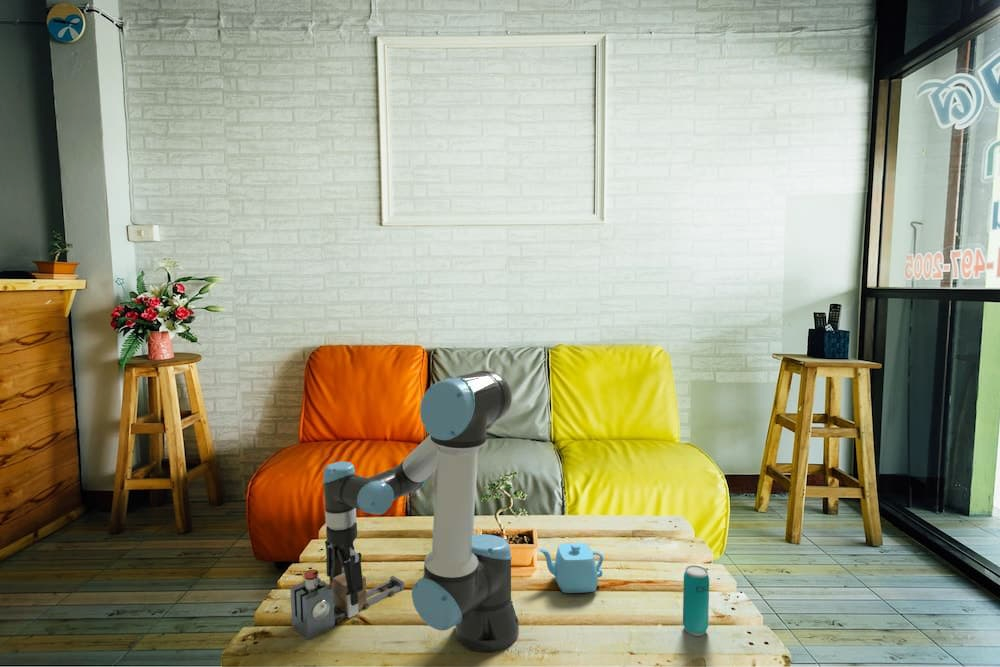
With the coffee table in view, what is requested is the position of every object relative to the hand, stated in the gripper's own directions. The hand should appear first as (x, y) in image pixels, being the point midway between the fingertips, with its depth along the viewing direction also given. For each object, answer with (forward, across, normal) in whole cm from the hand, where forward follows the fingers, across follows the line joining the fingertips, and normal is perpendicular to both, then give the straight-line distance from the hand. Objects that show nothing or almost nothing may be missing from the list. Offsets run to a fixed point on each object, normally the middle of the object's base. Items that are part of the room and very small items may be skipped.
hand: (345, 609), depth 146 cm
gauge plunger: (-7, 0, +9) cm, 11 cm away
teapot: (+1, -35, -49) cm, 60 cm away
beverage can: (+1, -69, -53) cm, 87 cm away
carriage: (-1, 0, -1) cm, 2 cm away
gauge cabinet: (0, 0, +9) cm, 9 cm away
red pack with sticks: (+1, +12, -5) cm, 13 cm away
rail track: (0, 0, -1) cm, 1 cm away
